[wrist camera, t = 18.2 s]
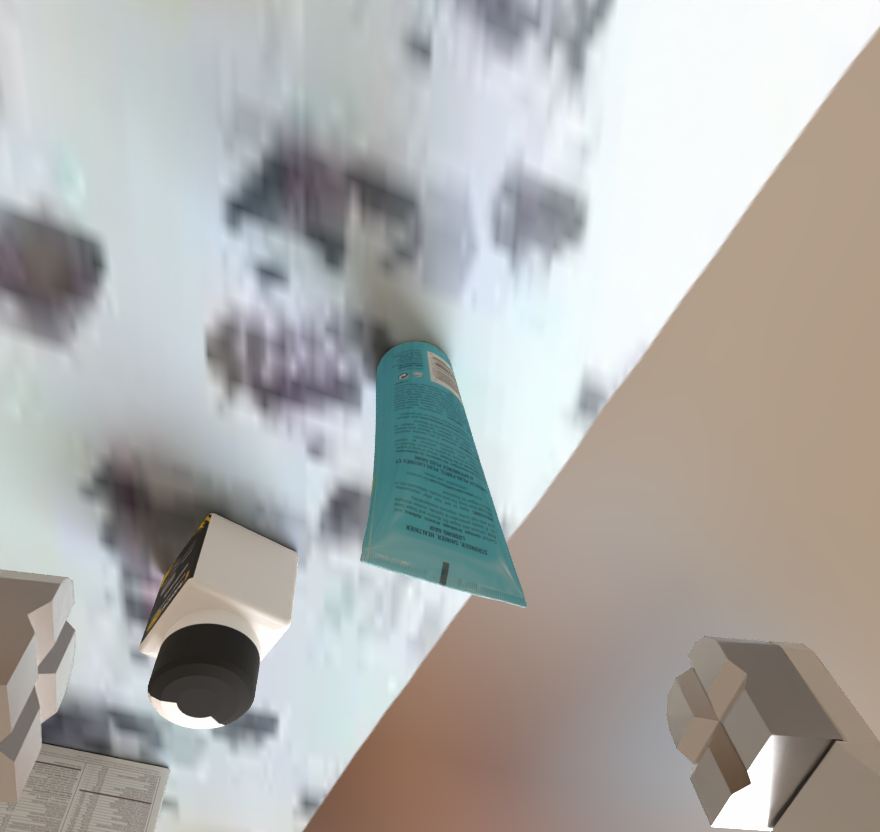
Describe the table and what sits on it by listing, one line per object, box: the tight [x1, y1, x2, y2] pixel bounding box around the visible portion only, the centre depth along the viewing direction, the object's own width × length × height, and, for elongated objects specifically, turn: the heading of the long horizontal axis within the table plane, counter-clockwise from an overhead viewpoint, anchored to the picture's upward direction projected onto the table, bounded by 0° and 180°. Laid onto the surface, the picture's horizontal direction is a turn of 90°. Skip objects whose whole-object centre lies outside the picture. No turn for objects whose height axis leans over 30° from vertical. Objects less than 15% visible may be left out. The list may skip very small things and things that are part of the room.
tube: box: [360, 341, 527, 608], centre depth 37 cm, size 7×5×19 cm, turn 70°
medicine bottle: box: [139, 513, 299, 729], centre depth 46 cm, size 7×7×12 cm
